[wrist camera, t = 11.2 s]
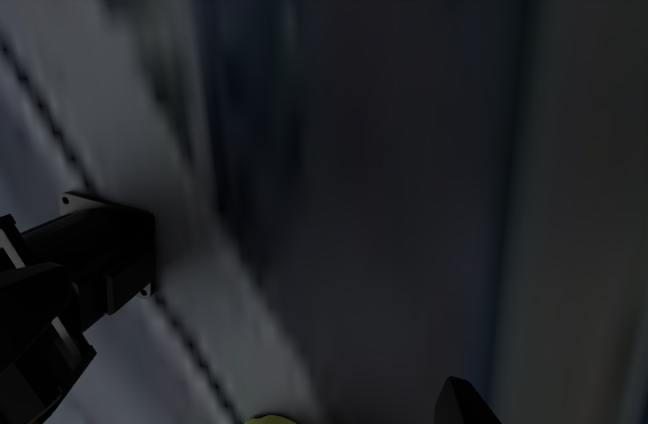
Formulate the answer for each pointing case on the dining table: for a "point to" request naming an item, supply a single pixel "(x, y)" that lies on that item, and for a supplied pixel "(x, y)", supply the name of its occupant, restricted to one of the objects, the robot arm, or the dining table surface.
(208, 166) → the dining table surface
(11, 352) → the robot arm
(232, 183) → the dining table surface
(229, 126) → the dining table surface
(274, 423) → the plant pot
